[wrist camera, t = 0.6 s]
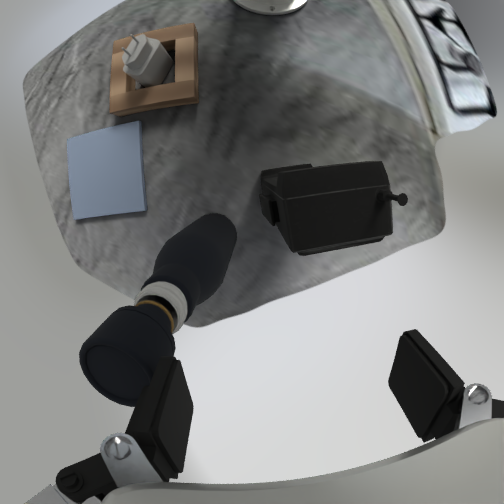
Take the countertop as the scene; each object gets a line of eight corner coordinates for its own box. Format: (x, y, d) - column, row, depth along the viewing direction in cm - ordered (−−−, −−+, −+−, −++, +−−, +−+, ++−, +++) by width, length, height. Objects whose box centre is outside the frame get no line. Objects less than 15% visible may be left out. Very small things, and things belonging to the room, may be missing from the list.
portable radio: (259, 215, 38) (283, 294, 14) (251, 172, 36) (265, 177, 12) (314, 206, 38) (413, 266, 14) (307, 163, 36) (409, 160, 12)
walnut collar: (122, 49, 30) (113, 41, 26) (197, 33, 30) (194, 22, 26) (119, 116, 33) (109, 112, 30) (198, 102, 33) (194, 96, 30)
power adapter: (175, 60, 31) (150, 24, 19) (157, 90, 32) (125, 64, 21) (157, 55, 30) (128, 20, 19) (140, 85, 32) (103, 59, 20)
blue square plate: (70, 139, 33) (67, 139, 32) (141, 121, 34) (138, 120, 33) (76, 218, 37) (73, 219, 36) (147, 209, 37) (145, 210, 36)
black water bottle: (224, 205, 38) (124, 284, 8) (244, 246, 39) (216, 413, 10) (184, 225, 38) (36, 333, 9) (205, 264, 40) (114, 430, 11)
